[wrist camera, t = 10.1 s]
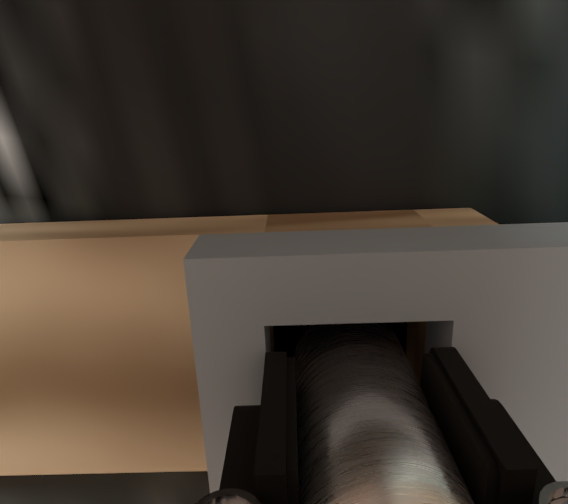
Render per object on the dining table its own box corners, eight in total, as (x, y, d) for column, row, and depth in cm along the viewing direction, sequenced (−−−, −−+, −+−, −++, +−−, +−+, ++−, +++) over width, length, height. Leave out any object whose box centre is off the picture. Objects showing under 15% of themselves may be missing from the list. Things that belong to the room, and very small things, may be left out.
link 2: (211, 216, 14) (183, 259, 10) (870, 194, 14) (1095, 229, 10) (230, 428, 17) (213, 525, 13) (787, 414, 16) (940, 510, 12)
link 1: (-166, 229, 14) (-235, 249, 12) (470, 207, 14) (499, 224, 12) (-90, 436, 17) (-138, 478, 15) (449, 422, 16) (471, 465, 14)
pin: (291, 313, 13) (299, 748, 4) (405, 310, 13) (649, 744, 4) (294, 408, 14) (306, 913, 5) (400, 405, 14) (587, 912, 5)
